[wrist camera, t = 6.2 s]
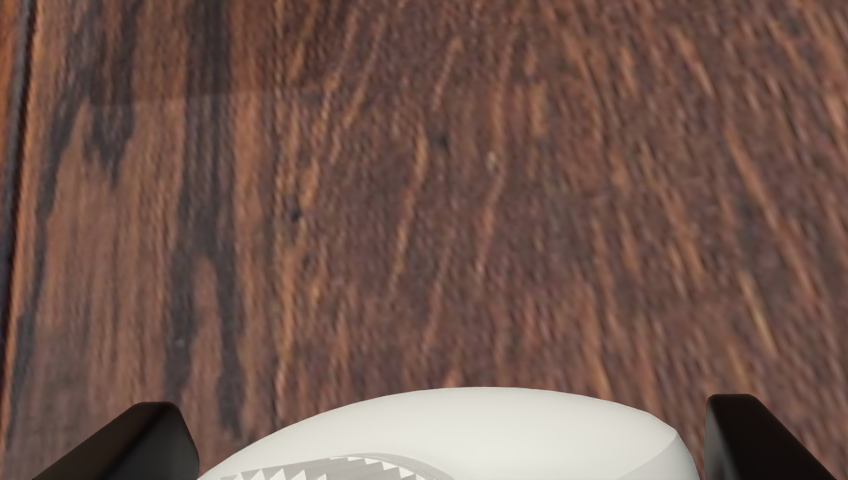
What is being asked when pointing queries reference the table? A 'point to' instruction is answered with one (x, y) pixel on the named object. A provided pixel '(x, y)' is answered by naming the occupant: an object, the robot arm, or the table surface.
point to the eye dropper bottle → (469, 441)
